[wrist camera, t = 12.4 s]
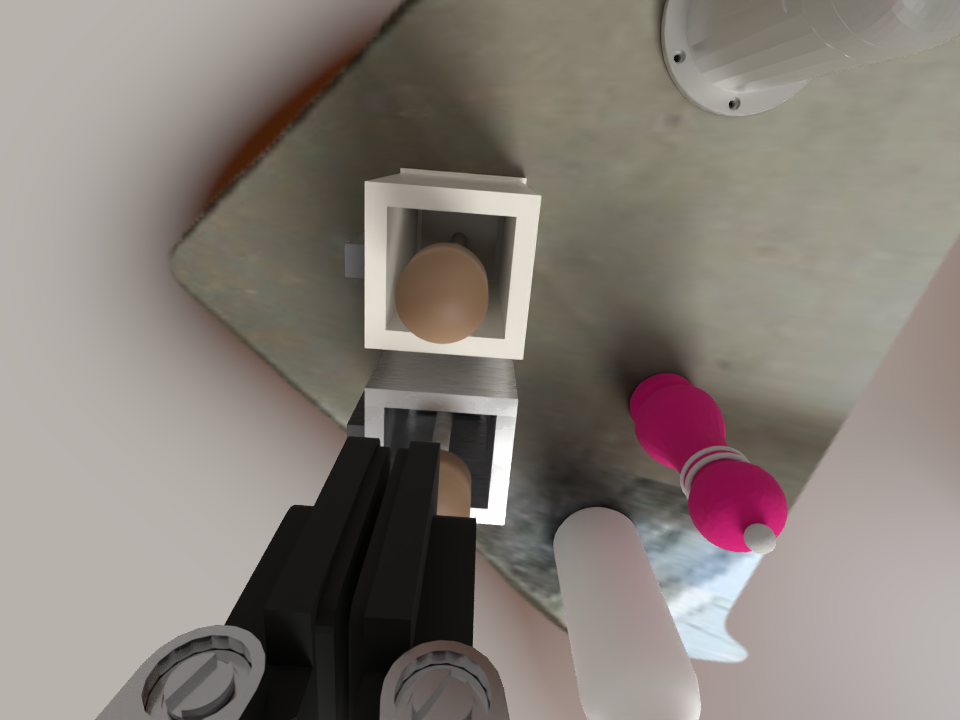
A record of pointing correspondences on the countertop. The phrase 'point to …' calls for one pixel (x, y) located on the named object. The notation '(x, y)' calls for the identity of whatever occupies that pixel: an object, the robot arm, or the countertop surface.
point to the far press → (450, 388)
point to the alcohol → (620, 623)
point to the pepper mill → (708, 465)
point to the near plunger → (448, 276)
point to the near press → (399, 239)
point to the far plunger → (451, 473)
